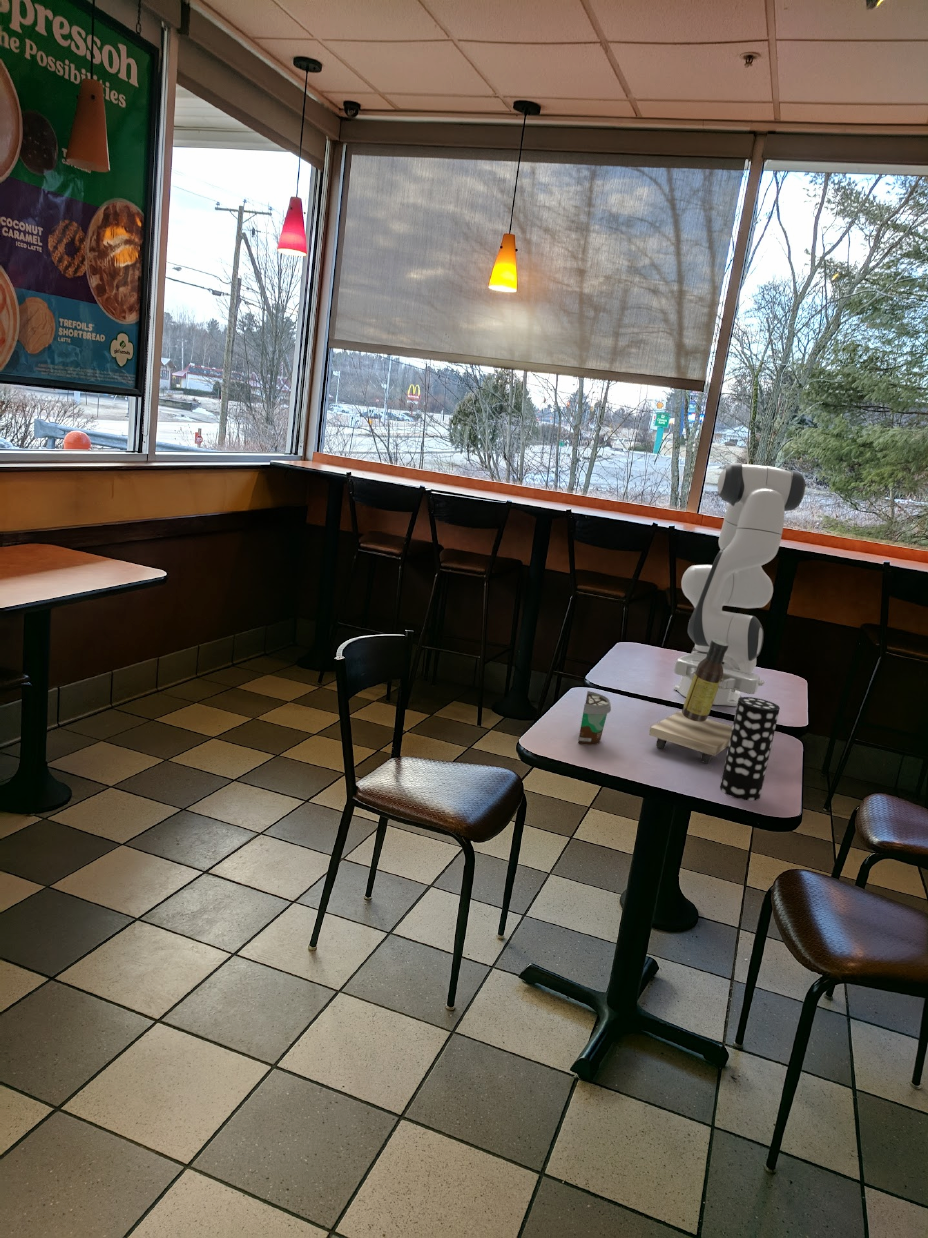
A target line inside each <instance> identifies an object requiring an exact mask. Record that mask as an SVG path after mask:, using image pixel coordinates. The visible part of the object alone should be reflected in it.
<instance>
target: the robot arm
mask: <svg viewBox="0 0 928 1238" xmlns="http://www.w3.org/2000/svg"><path fill="white" fill-rule="evenodd" d="M717 493H718V496H719V497H720V498H721V500H723V501H725V502H726V503H728V506H727V509H726V511H725V515H724V518H723V522H722V526H721V530H720V534H719V538H718V547H719V549H720V550H719V551H718V553H717V555H716V556H715V558H714V561H713V563H712V564H696V565H695V564H694V565H693V564H692V565H691V566H689V567H688V568H687V569H686V570H685V571H684V573H683V575H682V578H681V583H680V584H681V590H682V593H683V595H684V596H685V597H686V598H687V599H688V600H689V602H690V603H691V604H692V606H693V608H694V609H693V612H692V614H691V616H690V618H689V620H688V621H689V622H688V624H687V634H688V636H689V638H690V639H691V641H692V642H693V643H694V647H692V650H691V653H689V654H684V655H682V656H680V657H678V658H677V659H676V661H675V663H674V668H673V673H674V674H675V675H678V676H681V678H680V681H679V684H676V685H674V687H673V690H675V691H676V690H677V692H679V694H680V695H681V696H683V697H685V698H686V697H687V694H688V691H689V688H690V685H691V683H692V680H693V677H694V674H695V672H696V670H697V667H698V664H699V663H700V662H701V661H702V660H703V659H705V658H706V656H707V654H708V651H709V648H710V643H711V641H712V639H718V640H721V641H724V642H726V643H727V644H728V649H727V651H726V652H725V655H724V658H723V661H722V667H723V675H722V679H721V680H720V682H719V685H718V691H717V693H716V696H715V699H714V701H713V704H712V705H715V706H729V707H737V704H738V699H739V698H741V697H742V696H741V695H742V693H744V694H747V695H754V694H756V693H757V692H758V689H759V687H761V686H764V685H765V681H764V680H762V679H761V677H760V676H759V675H758V674H756V673H753V672H754V670H755V669H756V665H757V657H758V656H759V655H760V654H761V651H762V649H763V646H764V645H763V644H764V641H765V640H764V638H765V633H764V632H765V631H764V628H763V626H762V624H761V622H760V620H759V619H758V618H757V617H756V616H755V615H749V614H745V613H744V614H743V613H738V612H737V613H736V612H731V611H725V610H723V607H724V606H727V607H734V608H735V607H736V608H741V609H757V608H759V609H760V608H764V607H765V606H766V605H768V603H769V602H770V601H771V599H772V597H773V593H774V586H773V582H772V579H771V578H770V577H769V576H768V575H767V573H766V572H765V570H764V569H763V567H762V566H763V565H765V564H768V563H769V562H771V561H772V560H773V559H774V558H775V557H776V555H777V554H778V551H779V548H780V544H781V540H782V535H783V531H784V525H785V524H784V522H785V512H789V511H794V510H795V509H797V508H799V506H800V505H801V504H802V503H801V502H802V501H803V499H804V498H805V494H806V479H805V477H804V476H803V474H802V473H799V472H797V471H795V470H787V469H783V468H779V467H775V466H771V465H770V466H769V465H759V464H747V463H746V464H742V462H731V463H728V464H727V465H725V466H724V467H723V469H722V471H721V472H720V474H719V476H718V479H717Z"/></svg>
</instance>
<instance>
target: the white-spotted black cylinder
mask: <svg viewBox="0 0 928 1238" xmlns="http://www.w3.org/2000/svg"><path fill="white" fill-rule="evenodd" d="M780 708H781V707H780V706H779V705H778V704H776V703H774V702H772V701H769V700H766V699H763V698H758V697H752V696H740V698H739V699H738V703H737V706H736V710H735V715H734V719H733V724H732V726H733V728H732V733H731V737H730V742H729V747H728V748H727V752H726V757H725V762H724V766H723V770H722V771H723V772H722V774H721V775H722V776H721V781H720V784H719V789H720V791H721V792H723V793H724V794H725V795H727V796H729V797H732V798H735V799H739V800H742V801H750V802H751V801H758V800H759V799H760V798H761V794H762V789H763V785H764V781H765V776H766V772H767V767H768V762H769V757H770V754H771V749H772V744H773V741H774V736H775V732H776V726H777V722H778V718H779V714H780V710H781V709H780Z"/></svg>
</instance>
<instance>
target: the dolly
mask: <svg viewBox="0 0 928 1238" xmlns="http://www.w3.org/2000/svg"><path fill="white" fill-rule="evenodd" d="M732 728H733V725H730V724H727V723H726V724H725V723H723V722H720V721H715V720H713V719H710V718H707V719H706V720H705V721H703V722H698V721H693V720H690V719H688V718H686V717H685V716H684V715H683V714H682V710H679V711H677V712H674V713H673V714H671V715H669V716H667V717H666V718H664V719H662V720H661V721H659V722H657V723H655V724H653V725H652V726H650V727H649V733H648V735H649V736H651V737H653V738H656V743H655V744H656V745H655V747H656V748H660V749H661V750H662V749H664V748H665V747H666V745H667V742H670V743H671V744H676V745H680V746H682V747H684V748H685V747H686V748H688V749H692V750H694V751H697V752H701V757H700V761H701V762H702V763H704V764H709V763H710V761H711V758H712V756H714V757H715V756H717V755H718V754H720V753H721V752H722V751H724V750H725V749H728V747H729V742H730V737H731V733H732Z"/></svg>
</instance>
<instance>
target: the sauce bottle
mask: <svg viewBox="0 0 928 1238" xmlns="http://www.w3.org/2000/svg"><path fill="white" fill-rule="evenodd" d="M727 649H728V644H727V643H726V642H724V641H721V640H718V639H712V641H711V643H710V648H709V651H708V654H707V656H706V658H705V659H703V660H702V661H701V662H700V663H699V664H698V667H697V670H696V672H695V674H694V677H693V680H692V683H691V685H690V688H689V691H688V694H687V697H685V700H684V703H683V708H682V709H681V711H682V714H683V715H684V716H685V717H686V718H688V719H690V720H693V721H698V722H703V721H705V720H706V719H708V716H709V715H710V713H711V710H712V708H713V705H714V704H713V701H714V699H715V696H716V693H717V691H718V685H719V682H720V680H721V679H722V675H723V667H722V661H723V658H724V655H725V652H726V651H727Z"/></svg>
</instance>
